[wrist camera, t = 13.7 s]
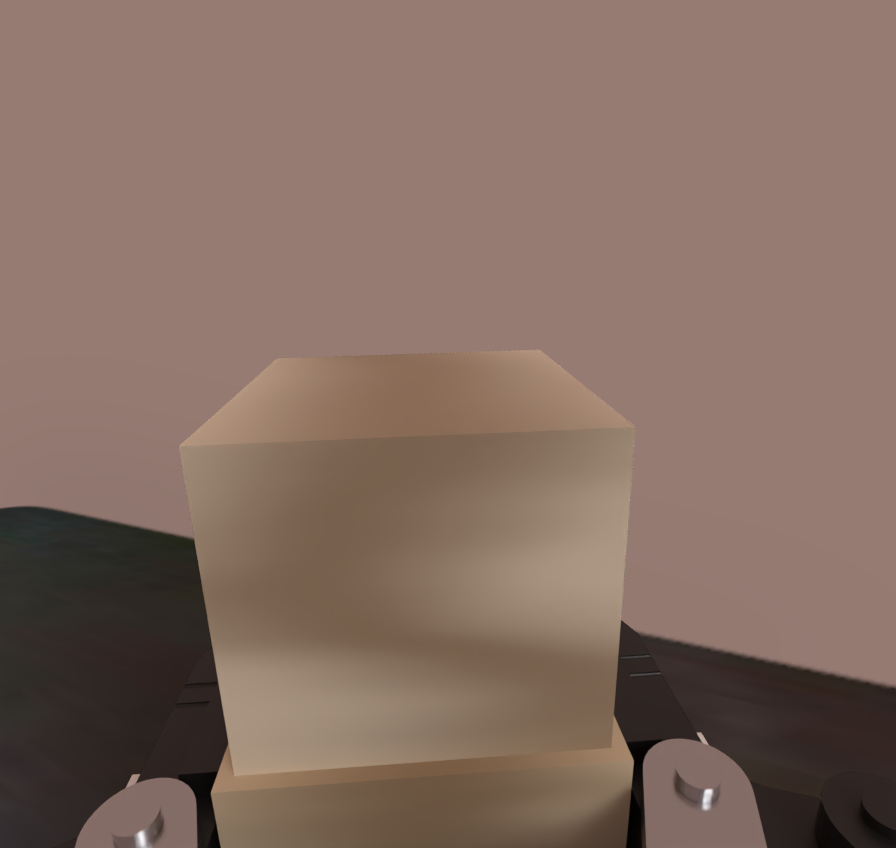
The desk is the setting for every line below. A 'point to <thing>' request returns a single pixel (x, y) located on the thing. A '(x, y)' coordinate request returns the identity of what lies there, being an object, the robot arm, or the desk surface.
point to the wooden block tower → (416, 603)
